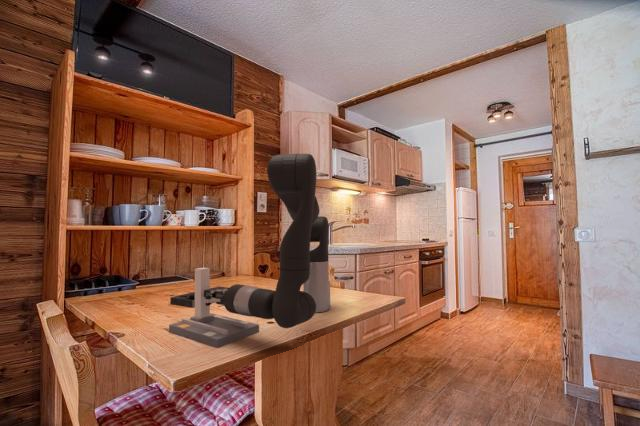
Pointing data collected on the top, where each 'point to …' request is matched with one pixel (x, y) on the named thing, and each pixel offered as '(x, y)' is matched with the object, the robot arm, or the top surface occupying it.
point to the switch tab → (202, 296)
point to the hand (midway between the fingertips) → (206, 293)
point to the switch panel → (214, 330)
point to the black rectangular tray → (188, 298)
